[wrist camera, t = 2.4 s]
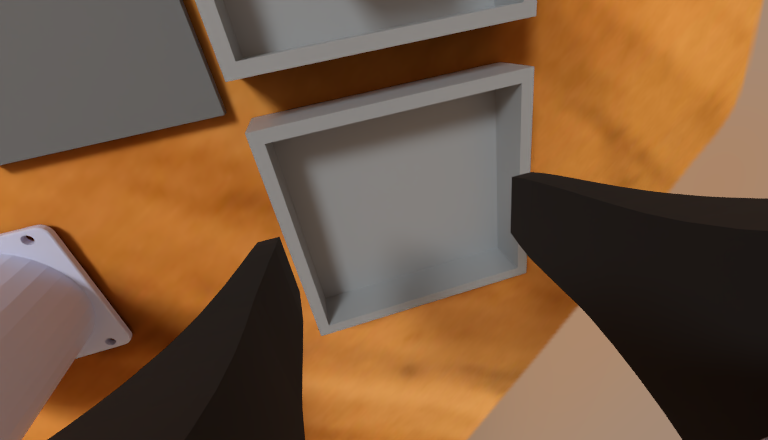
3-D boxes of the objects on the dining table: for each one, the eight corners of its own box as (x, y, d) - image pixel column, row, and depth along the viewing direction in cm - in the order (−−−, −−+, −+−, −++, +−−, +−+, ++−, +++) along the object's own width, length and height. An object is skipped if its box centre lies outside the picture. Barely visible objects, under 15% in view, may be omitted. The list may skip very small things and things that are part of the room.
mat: (-6, 164, 15) (-16, 168, 15) (-251, -152, 10) (-279, -162, 10) (226, 112, 17) (224, 115, 16) (107, -193, 12) (98, -204, 11)
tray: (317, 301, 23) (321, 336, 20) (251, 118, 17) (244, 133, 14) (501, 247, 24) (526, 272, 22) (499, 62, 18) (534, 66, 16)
